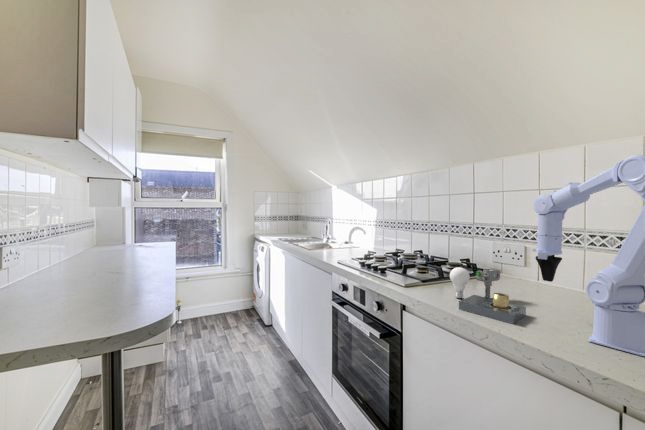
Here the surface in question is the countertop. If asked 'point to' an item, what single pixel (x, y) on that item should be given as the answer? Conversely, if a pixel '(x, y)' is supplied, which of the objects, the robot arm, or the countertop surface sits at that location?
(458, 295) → the lightbulb
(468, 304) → the plate
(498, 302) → the cylinder
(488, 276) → the mechanical component
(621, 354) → the countertop surface
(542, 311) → the countertop surface
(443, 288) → the countertop surface
